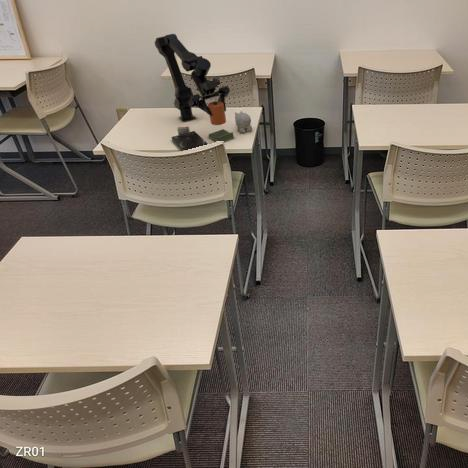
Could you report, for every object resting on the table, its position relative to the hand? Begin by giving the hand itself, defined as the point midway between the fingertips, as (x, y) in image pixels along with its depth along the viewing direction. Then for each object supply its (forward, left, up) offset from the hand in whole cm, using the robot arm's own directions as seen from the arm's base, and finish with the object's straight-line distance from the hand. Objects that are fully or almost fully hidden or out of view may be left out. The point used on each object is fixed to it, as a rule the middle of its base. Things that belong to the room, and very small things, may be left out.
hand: (218, 113), depth 212 cm
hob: (-4, -14, -12) cm, 19 cm away
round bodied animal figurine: (-5, +12, -12) cm, 18 cm away
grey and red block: (-10, -14, -10) cm, 20 cm away
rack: (-1, 0, -12) cm, 12 cm away
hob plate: (0, -14, -10) cm, 18 cm away
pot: (-1, 0, -5) cm, 5 cm away
